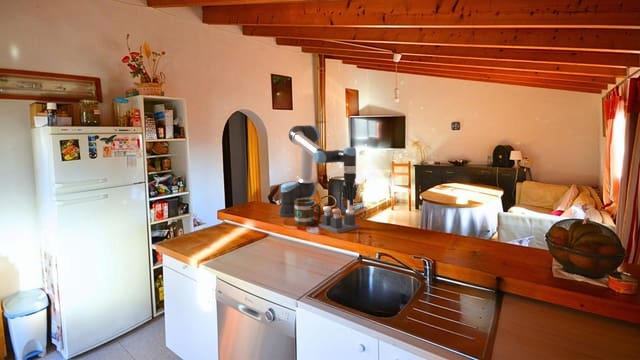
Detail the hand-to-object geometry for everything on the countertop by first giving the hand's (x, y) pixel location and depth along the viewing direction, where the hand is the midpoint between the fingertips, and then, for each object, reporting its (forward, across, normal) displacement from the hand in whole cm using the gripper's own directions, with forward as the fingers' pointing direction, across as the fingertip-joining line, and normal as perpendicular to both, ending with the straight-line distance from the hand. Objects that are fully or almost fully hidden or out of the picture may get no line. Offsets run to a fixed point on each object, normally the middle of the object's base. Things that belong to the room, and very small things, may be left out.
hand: (349, 210), depth 216 cm
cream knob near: (+6, -9, -11) cm, 16 cm away
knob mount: (+11, -5, -6) cm, 13 cm away
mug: (+11, -24, -15) cm, 31 cm away
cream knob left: (+8, 0, 0) cm, 8 cm away
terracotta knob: (+6, 0, -11) cm, 13 cm away
